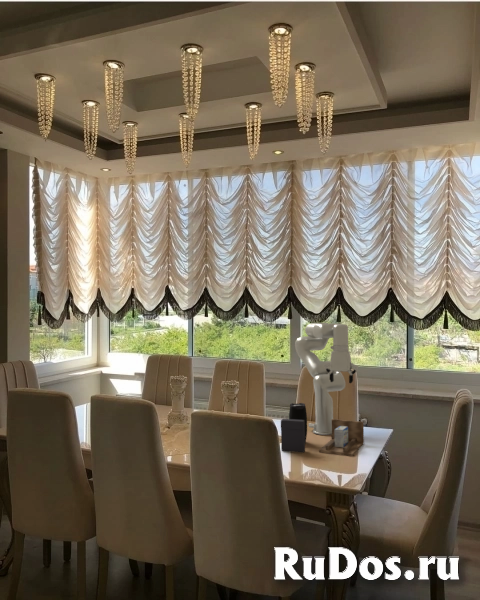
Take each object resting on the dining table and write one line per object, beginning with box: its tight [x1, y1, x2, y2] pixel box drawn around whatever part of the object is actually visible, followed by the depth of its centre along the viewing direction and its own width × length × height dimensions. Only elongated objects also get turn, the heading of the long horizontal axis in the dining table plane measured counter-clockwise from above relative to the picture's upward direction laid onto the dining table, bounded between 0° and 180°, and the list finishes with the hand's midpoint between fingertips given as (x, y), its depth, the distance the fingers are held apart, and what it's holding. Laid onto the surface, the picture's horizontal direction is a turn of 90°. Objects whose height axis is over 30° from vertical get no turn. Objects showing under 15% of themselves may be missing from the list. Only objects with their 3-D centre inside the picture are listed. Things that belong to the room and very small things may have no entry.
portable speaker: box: [288, 402, 308, 444], centre depth 270 cm, size 9×9×20 cm
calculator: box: [280, 418, 306, 454], centre depth 255 cm, size 11×4×15 cm, turn 71°
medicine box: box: [334, 426, 348, 448], centre depth 259 cm, size 8×4×9 cm, turn 151°
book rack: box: [318, 418, 365, 457], centre depth 259 cm, size 16×22×11 cm
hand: (341, 382), depth 270 cm, fingers open, 9 cm apart
